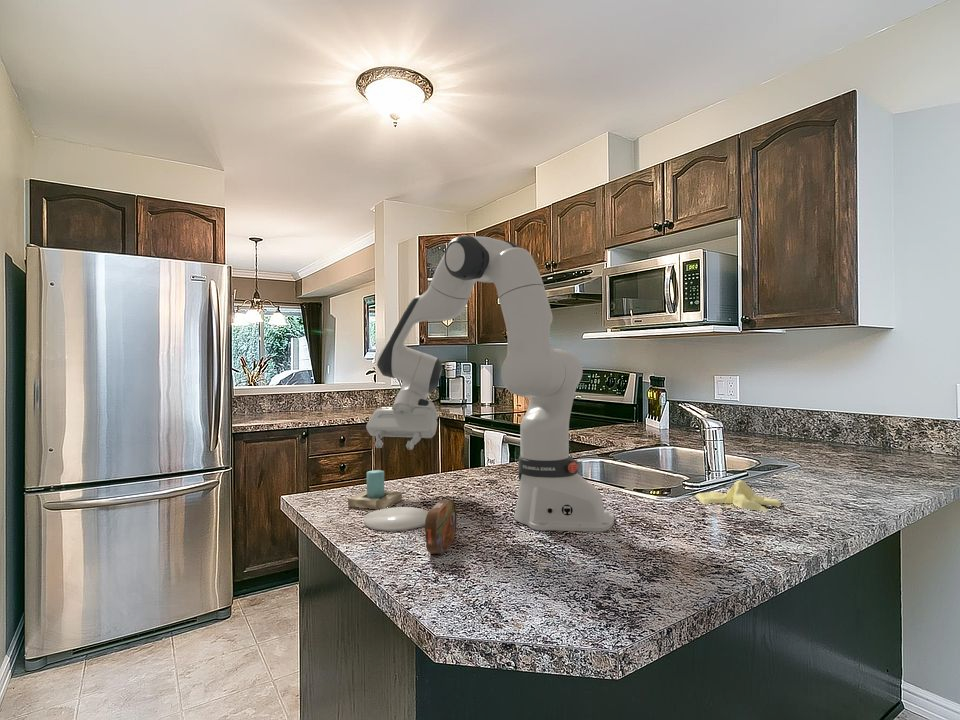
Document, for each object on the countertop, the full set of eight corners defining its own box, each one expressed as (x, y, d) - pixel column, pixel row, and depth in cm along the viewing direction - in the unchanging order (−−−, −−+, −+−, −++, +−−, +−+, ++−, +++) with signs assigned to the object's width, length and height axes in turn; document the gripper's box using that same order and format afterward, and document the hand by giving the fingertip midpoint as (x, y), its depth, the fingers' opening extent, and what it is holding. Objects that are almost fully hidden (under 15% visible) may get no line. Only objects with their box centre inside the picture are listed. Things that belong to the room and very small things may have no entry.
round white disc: (440, 514, 131) (440, 509, 131) (413, 533, 117) (413, 528, 117) (383, 509, 136) (383, 505, 136) (351, 527, 121) (351, 522, 121)
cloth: (681, 500, 144) (681, 476, 144) (730, 491, 152) (730, 469, 152) (758, 523, 124) (758, 495, 124) (810, 511, 132) (810, 486, 132)
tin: (438, 561, 101) (438, 515, 101) (422, 560, 102) (421, 514, 102) (458, 534, 116) (457, 494, 116) (443, 534, 117) (443, 494, 117)
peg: (387, 501, 143) (387, 470, 143) (379, 506, 139) (379, 474, 139) (372, 500, 144) (371, 469, 144) (363, 504, 140) (363, 473, 140)
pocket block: (402, 499, 145) (402, 492, 145) (384, 509, 135) (384, 501, 135) (368, 497, 148) (367, 489, 148) (348, 506, 138) (348, 498, 138)
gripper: (372, 400, 161) (355, 439, 152) (437, 401, 155) (423, 441, 146) (379, 414, 166) (363, 452, 156) (443, 416, 159) (430, 455, 150)
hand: (393, 447), depth 151 cm, fingers open, 8 cm apart
